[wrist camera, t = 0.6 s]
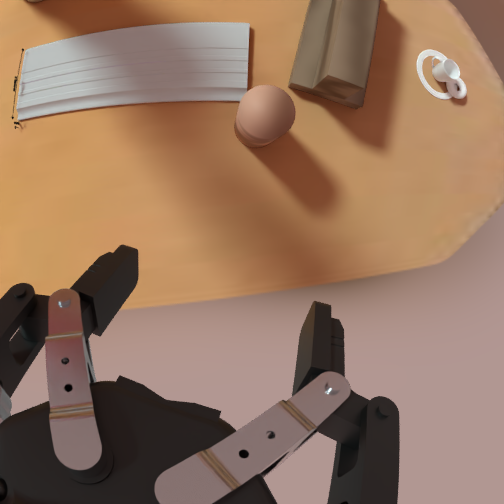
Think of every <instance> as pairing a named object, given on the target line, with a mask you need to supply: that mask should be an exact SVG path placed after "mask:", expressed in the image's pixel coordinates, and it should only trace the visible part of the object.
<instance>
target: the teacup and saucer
mask: <svg viewBox="0 0 504 504" xmlns="http://www.w3.org/2000/svg"><path fill="white" fill-rule="evenodd" d="M428 56H435V57H434V58H433V59H432V68H433V70H432V74H433V77H434V78H435V79H436V80H437V81H440V82H446V87H447V90H448V92H447V93H439V92H437V91H435V90H434V89H432V88H431V87H430V86H429V84H428V83H427V82H426V80H425V78H424V75H423V72H422V63H423V60H424V59H425V58H426V57H428ZM435 58H436V59H438V60H440V63H438V64H437V65H436V66H434V64H433V61H434V59H435ZM417 72H418V75H419V78H420V80H421V82H422V84H423V85H424V87H425V88H426V89H427V90H428V91H429V92H430V93H431V94H432V95H433V96H435V97H437V98H439V99H444V100H445V99H450V98H452V97H455V98H457V99H462V98H464V97H465V96H466V93H467V89H466V85H465V83H464V82H463V81H462V80H461V79H460V78H459V77H460V70H459V67H458V65H457V64H456V63H455V62H454V61H453V60H451V59H447V58H446V57H445V56H444V55H443V54H441V53H440V52H438V51H435V50H425V51H423V52H422V53H421V54H420V55H419V56H418V59H417ZM458 86H459V89H460V90H459V91H457V88H458Z"/></svg>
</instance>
